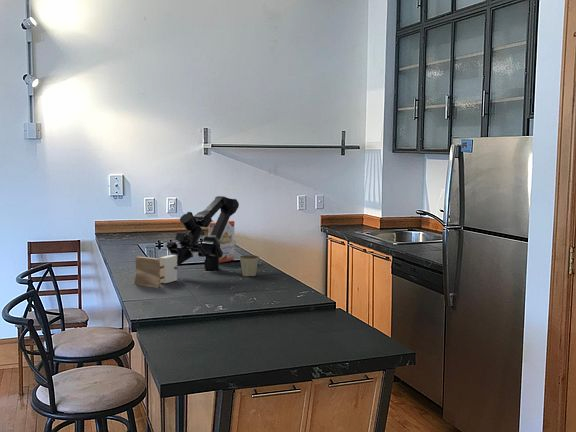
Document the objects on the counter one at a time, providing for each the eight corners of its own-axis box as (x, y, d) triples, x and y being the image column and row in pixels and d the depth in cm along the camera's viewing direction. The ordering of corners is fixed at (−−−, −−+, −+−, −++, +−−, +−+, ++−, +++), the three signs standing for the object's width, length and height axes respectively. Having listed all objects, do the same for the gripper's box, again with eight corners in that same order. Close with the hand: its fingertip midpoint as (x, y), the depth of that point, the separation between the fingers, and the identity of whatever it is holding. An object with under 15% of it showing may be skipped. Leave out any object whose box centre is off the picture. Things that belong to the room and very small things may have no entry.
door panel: (171, 279, 286) (171, 254, 285) (179, 280, 284) (179, 255, 283) (160, 282, 279) (159, 257, 278) (167, 283, 277) (167, 258, 276)
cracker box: (216, 264, 325) (216, 223, 322) (207, 262, 328) (207, 222, 326) (235, 260, 336) (235, 220, 334) (226, 259, 339) (226, 219, 337)
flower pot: (256, 277, 292) (256, 258, 291) (236, 276, 294) (236, 258, 293) (261, 273, 302) (261, 255, 301) (242, 272, 303) (242, 254, 302)
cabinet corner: (154, 278, 290) (153, 251, 289) (179, 281, 283) (179, 254, 282) (131, 284, 277) (131, 256, 275) (157, 287, 270) (156, 259, 269)
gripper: (168, 224, 294) (152, 251, 285) (202, 227, 285) (187, 255, 277) (179, 239, 302) (164, 266, 293) (212, 242, 293) (197, 270, 284)
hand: (177, 264), depth 287 cm, fingers closed
